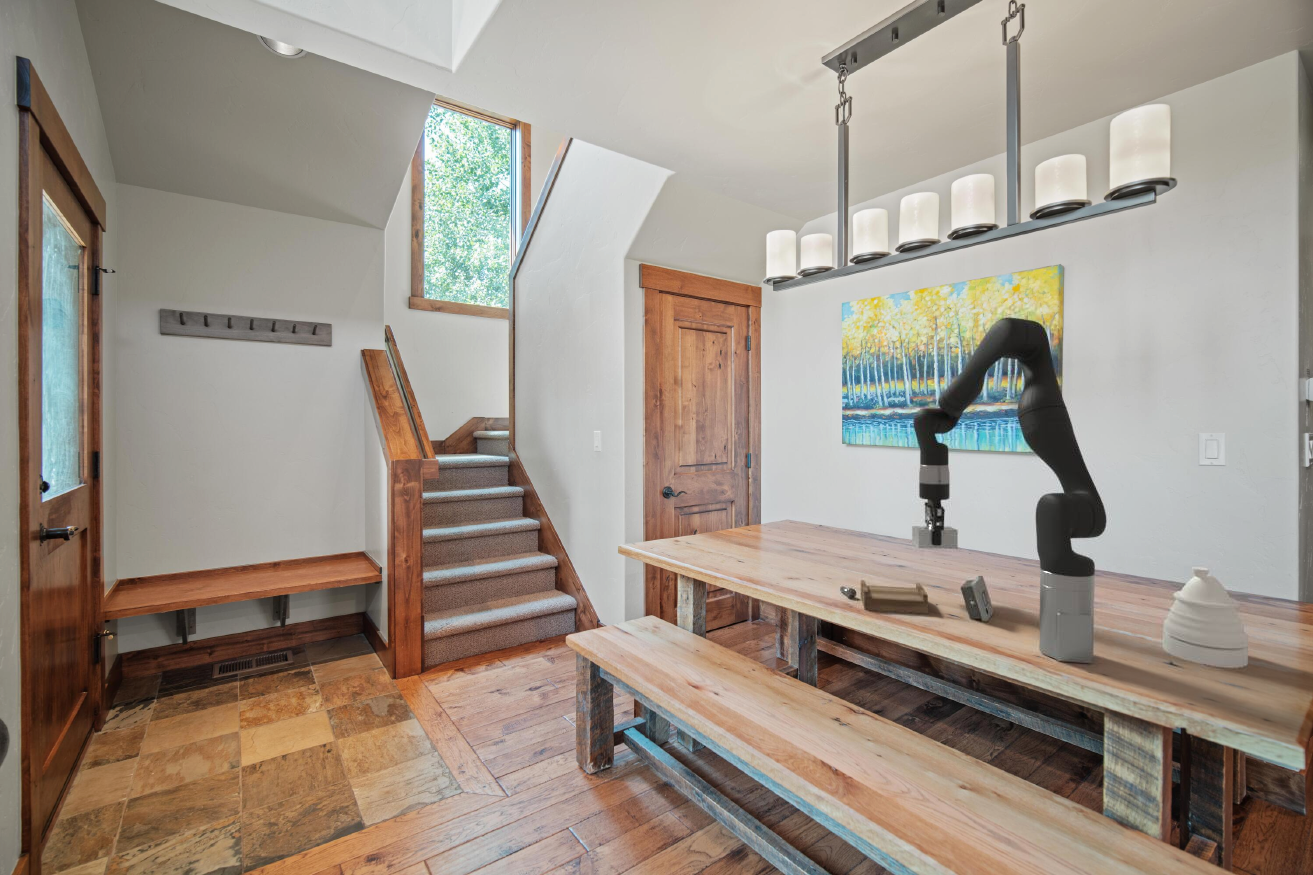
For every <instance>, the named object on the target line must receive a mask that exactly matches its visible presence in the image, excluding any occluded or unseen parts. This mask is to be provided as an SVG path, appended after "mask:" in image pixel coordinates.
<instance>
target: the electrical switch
mask: <svg viewBox="0 0 1313 875" xmlns="http://www.w3.org/2000/svg"><path fill="white" fill-rule="evenodd" d="M960 591H961V594H962V597H963V600H964V604H965V606H966V607H965V608H966V611H967V613H968V617H969V620H978V619H980V620H981V621H982V622H983V623H984V622H985V623H986V622H988V621H989V619H990V618H991V617H992V615H993V614H994V612H995V611H994V608H993V605H992V602H991V601H992V600H991V598H990V595H989V591H988V588H987V585H986V582H985V579H984V576H983V575H978V576H977V577H976V578H975V579H971V580H966V581H965V582H964V583H963V584H962V585H961V586H960Z"/></svg>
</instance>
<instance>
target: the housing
mask: <svg viewBox="0 0 1313 875" xmlns="http://www.w3.org/2000/svg"><path fill="white" fill-rule="evenodd" d="M937 526H939V524H937ZM911 528H912V529H911V531H912V532H911V537H912V538H911V542H912V545H913V546H914V547H916V548H918V549H948V550H949V549H953V550H954V549H958V547H959V546H958V542H959V541H958V533H959V531H958V530H959V529H956V528H954V527H952V526H944V530H942V532H941V545H940V546H937V545H933V544H932V530H931V528H932V526H931V524H929V525H928V526H927V525H926V526H925V525H923V526H922V525H921V526H918V525H916V526H912V527H911Z"/></svg>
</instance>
